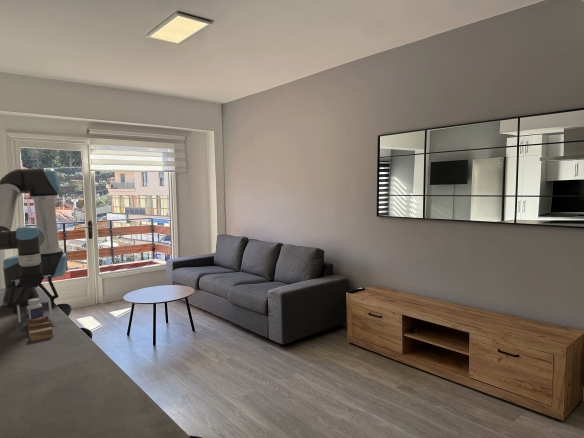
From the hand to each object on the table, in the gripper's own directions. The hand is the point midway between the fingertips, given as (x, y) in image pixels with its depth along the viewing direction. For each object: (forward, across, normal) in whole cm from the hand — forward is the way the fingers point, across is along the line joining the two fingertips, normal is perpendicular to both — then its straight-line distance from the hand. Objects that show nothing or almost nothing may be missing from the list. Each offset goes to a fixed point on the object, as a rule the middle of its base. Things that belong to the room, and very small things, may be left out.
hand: (35, 318), depth 165 cm
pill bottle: (+2, 0, 0) cm, 2 cm away
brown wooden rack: (+2, +1, -14) cm, 14 cm away
